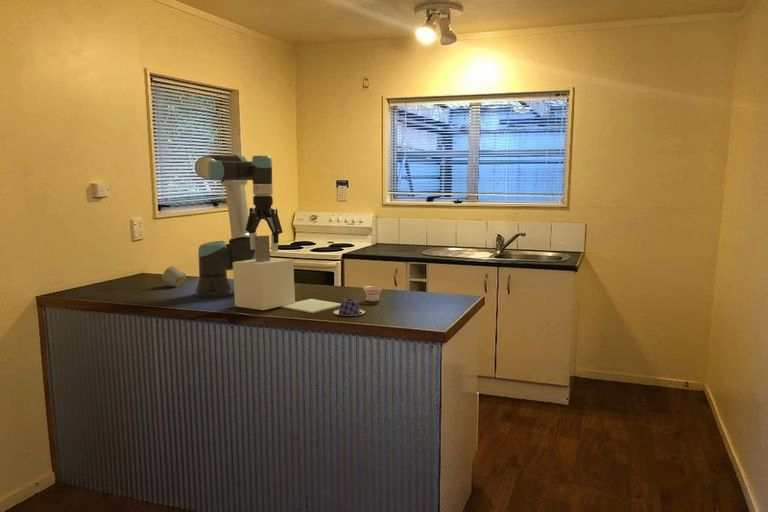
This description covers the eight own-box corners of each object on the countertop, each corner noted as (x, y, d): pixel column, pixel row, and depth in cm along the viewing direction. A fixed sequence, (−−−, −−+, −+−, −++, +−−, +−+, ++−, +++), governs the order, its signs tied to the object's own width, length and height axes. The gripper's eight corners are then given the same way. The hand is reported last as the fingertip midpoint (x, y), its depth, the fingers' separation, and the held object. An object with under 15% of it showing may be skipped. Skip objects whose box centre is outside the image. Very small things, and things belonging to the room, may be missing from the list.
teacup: (354, 301, 250) (354, 286, 249) (380, 298, 254) (380, 284, 254) (365, 306, 239) (365, 291, 238) (392, 304, 244) (392, 289, 243)
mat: (279, 307, 236) (279, 305, 236) (311, 300, 251) (311, 298, 251) (312, 313, 226) (312, 311, 226) (343, 305, 240) (343, 304, 240)
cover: (235, 306, 238) (231, 237, 235) (267, 299, 252) (263, 234, 249) (263, 310, 228) (259, 238, 225) (295, 303, 241) (292, 234, 238)
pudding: (371, 314, 225) (371, 301, 224) (343, 319, 218) (343, 304, 217) (354, 309, 234) (354, 296, 234) (327, 313, 228) (327, 299, 227)
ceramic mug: (174, 291, 280) (176, 279, 275) (160, 281, 281) (163, 270, 276) (189, 280, 288) (192, 269, 283) (176, 270, 289) (179, 259, 285)
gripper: (235, 195, 239) (237, 249, 241) (276, 196, 224) (277, 253, 227) (250, 194, 245) (251, 247, 247) (291, 195, 230) (292, 251, 233)
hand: (264, 250), depth 237 cm, fingers open, 11 cm apart
